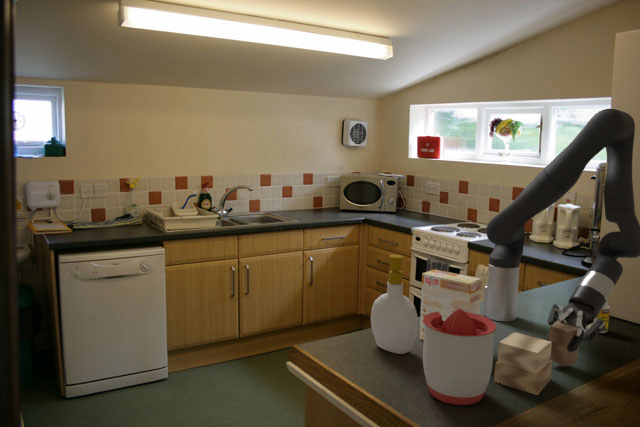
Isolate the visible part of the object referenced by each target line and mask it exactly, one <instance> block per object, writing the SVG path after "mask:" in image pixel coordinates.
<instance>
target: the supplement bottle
mask: <svg viewBox="0 0 640 427" xmlns="http://www.w3.org/2000/svg"><path fill="white" fill-rule="evenodd" d="M608 303H609V299H608V300H607V301H606V303H605V305H604V306H603V308H602V310H601V311H600V313H599V314H598V315H597V318H598V319H602V320H603V322H604V323H605V325H606V327H605V328H604V329H603V330H602V331H601V332H600V333H599V334H605V333H607V332H608V330H609V320H610V312H611V306H610V305H609V304H608ZM592 325H593V323H591V324H589V325H587V330H588V329H589V328H590V327H591V326H592Z"/></svg>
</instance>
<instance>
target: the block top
mask: <svg viewBox="0 0 640 427" xmlns="http://www.w3.org/2000/svg"><path fill="white" fill-rule="evenodd" d="M551 346H552V342H551V341H547V339H542V338H540V337H539V338H538V337H534V336H531V335H528V334H527V335H526V334H524V333H519V332H515V331H514V332H512V333H511V334H509V335H508V336H506V337H505V338H503V339H502V340H500V341H499V342H498V348H497V349H498V350H497V352H498V353H497V361H498V363H501V364H505V365H508V366H511V367H514V368H518V369H521V370H524V371H528V372H531V373H534V374H537V373H538V372H539V371H540V370H541V369H543V368H544V367H545V366H546V365H547V364H548V363H550V361H551V360H550V359H551Z"/></svg>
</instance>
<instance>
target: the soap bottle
mask: <svg viewBox="0 0 640 427" xmlns="http://www.w3.org/2000/svg"><path fill="white" fill-rule="evenodd" d="M388 259H389V267H390V270H389V271H388V281H387V283H386V284H387V286H386V293H383V294H380V295H379V296H378V297H377V298H376V299H375V300H374V301H373V305H372V307H371V313H370V325H371V331H372V335H373V337H374V341H375V343H376V345H377V347H379V348H380V349H382V350H383V351H387V352H390V353H392V354H398V355H404V354H407V353H409V352H410V351H411V349H412V348H413V346H414V343H415V341H416V339H417V335H418V330H419V324H418V323H419V322H418V321H419V320H418V313H417V309H416V306H415V304H414V303H413V302H412V300H411V299H409V298H408V297H407V296H406V295H404V294H403V292H404V291H403V289H404V283H403V271H401V269H402V265H403V261H404V260H403V259H408V257H407V256H403V255H400V254H389V256H388Z"/></svg>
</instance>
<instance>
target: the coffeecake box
mask: <svg viewBox="0 0 640 427" xmlns="http://www.w3.org/2000/svg"><path fill="white" fill-rule="evenodd" d="M421 275H422V277H421V292H420V296H421V297H420V315H419V316H420V320H419V321H420V322H419V340H422V341H424V322H423V319H424V317H425V316H426V315H428V314H430V313H433V312H439V313H440V314H441V315H442V320H443V321H445V320H446V319H447V318H448V317H449V316H450V315H451V314H452V313H453V312H454V311H456V310H457V309H462V310H463V311H464V312H469V313H474V314H478V315H481V307H482V306H481V305H482V303H481V302H482V287H483V286H482V285H483V284H482V283H483V280H482V279H483V278H480V277H475V276H469V275H465V274H460V273H456V272H455V273H454V272H451V271H444V270H439V269H430V270H428V271H425V272H422V274H421Z"/></svg>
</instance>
